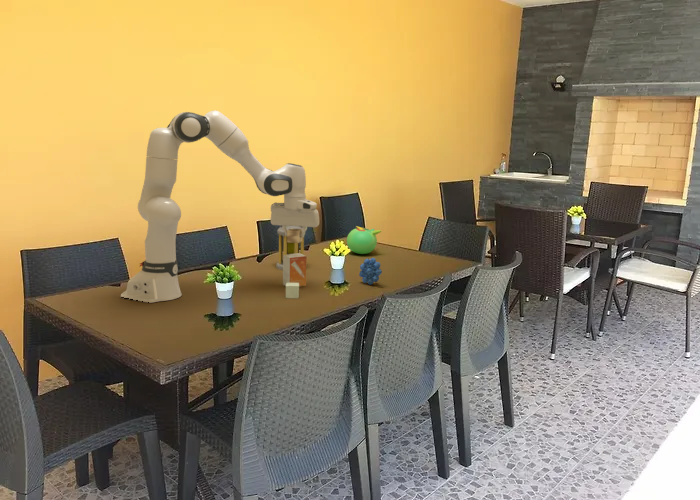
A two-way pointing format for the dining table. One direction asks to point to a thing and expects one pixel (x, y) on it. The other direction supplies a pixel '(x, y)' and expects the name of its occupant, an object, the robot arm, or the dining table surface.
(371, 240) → the green round piece
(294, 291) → the sage cube
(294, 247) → the lantern
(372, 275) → the grapes
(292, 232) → the beech cube
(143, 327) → the dining table surface
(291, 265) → the small box
